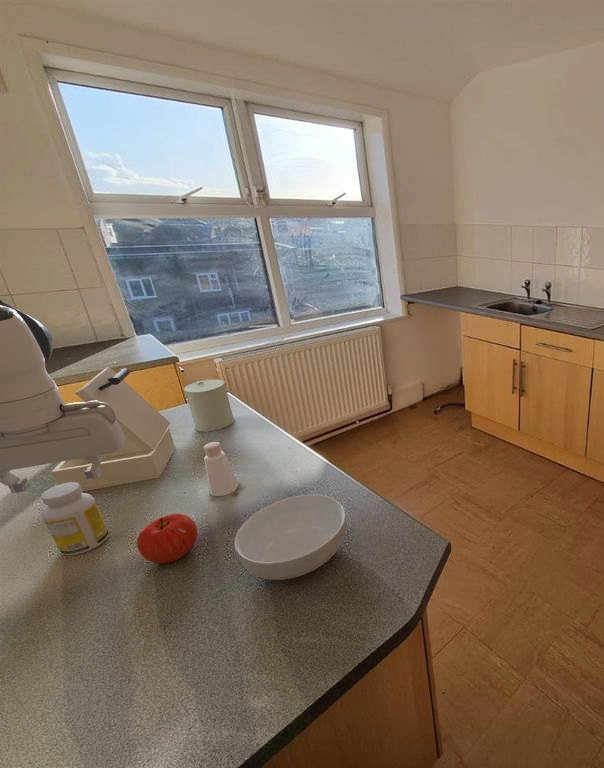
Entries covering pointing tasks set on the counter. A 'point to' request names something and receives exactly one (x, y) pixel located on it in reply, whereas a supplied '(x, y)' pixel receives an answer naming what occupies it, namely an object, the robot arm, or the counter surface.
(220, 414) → the can
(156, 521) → the apple
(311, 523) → the cereal bowl
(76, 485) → the pill bottle
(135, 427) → the box lid
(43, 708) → the counter surface
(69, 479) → the cream open box
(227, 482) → the salt shaker
